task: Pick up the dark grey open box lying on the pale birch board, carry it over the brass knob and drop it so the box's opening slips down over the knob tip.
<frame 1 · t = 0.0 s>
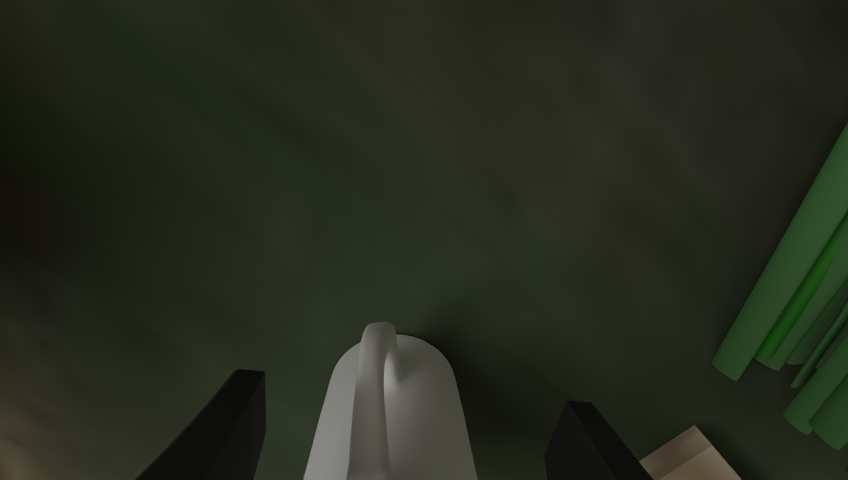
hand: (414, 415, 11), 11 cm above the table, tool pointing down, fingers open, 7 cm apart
mug: (390, 356, 23), on the table
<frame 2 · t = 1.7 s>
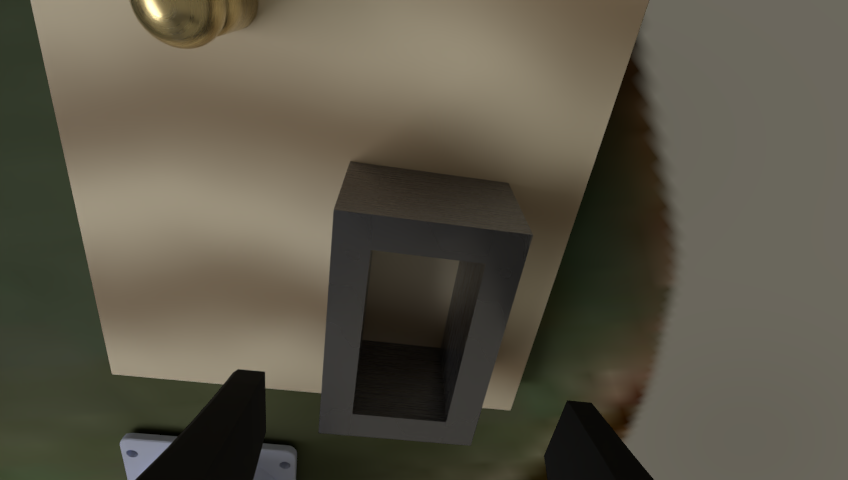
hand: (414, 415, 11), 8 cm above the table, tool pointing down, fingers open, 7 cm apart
birch board: (340, 144, 16), on the table
dark grey open box: (412, 278, 17), point 1 cm above the table, touching birch board
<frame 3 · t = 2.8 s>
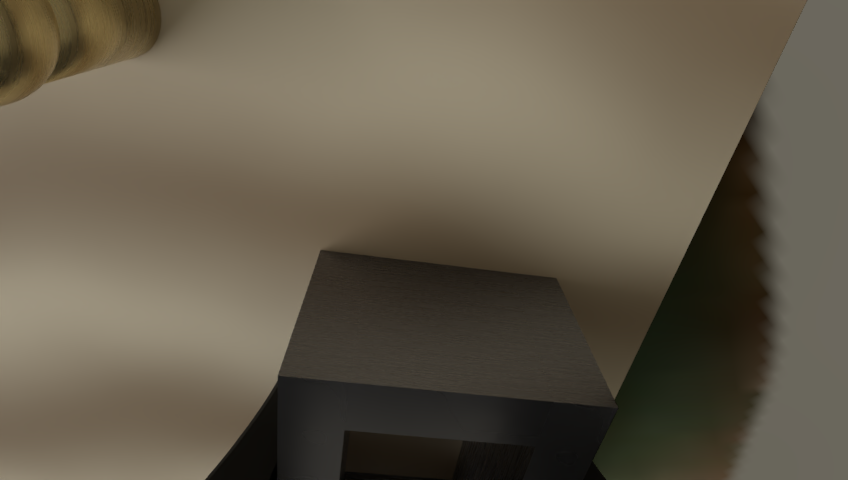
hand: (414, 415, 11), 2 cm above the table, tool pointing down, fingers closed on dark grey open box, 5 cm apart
birch board: (309, 214, 11), on the table
dark grey open box: (414, 399, 12), point 1 cm above the table, touching birch board, gripper
brass knob: (108, 5, 7), resting on birch board
when the fingers open (3 cm above the table, at t = 6.4 s): dark grey open box drops 1 cm, resting on birch board.
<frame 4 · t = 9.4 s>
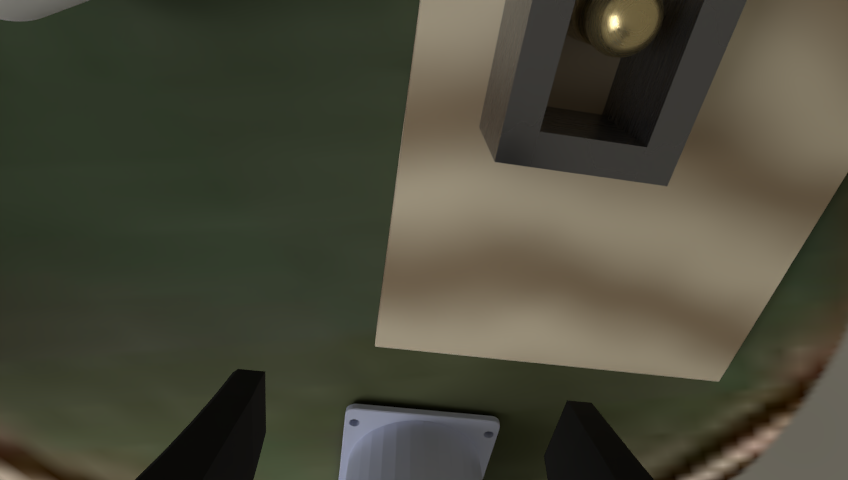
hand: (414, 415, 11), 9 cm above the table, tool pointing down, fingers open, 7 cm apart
birch board: (616, 138, 18), on the table
dark grey open box: (587, 8, 14), point 1 cm above the table, touching birch board
brass knob: (586, 11, 14), resting on birch board
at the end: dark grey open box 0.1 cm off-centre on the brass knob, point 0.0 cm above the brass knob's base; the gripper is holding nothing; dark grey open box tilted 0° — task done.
